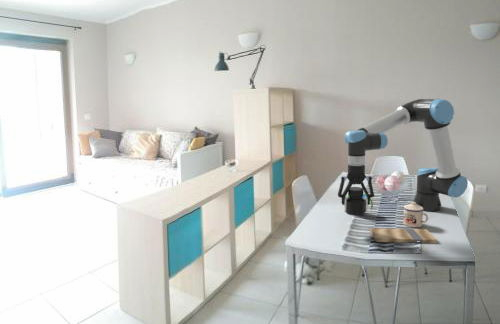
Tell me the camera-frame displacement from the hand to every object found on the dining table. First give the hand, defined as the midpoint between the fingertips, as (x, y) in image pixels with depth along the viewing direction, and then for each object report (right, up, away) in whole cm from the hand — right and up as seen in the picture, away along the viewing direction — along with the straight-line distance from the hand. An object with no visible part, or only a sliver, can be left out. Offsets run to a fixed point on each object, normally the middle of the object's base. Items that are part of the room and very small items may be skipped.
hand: (355, 211), depth 174 cm
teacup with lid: (+33, -9, +11) cm, 36 cm away
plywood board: (+20, -11, -4) cm, 24 cm away
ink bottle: (0, -1, 0) cm, 1 cm away
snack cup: (+10, -6, +30) cm, 32 cm away
